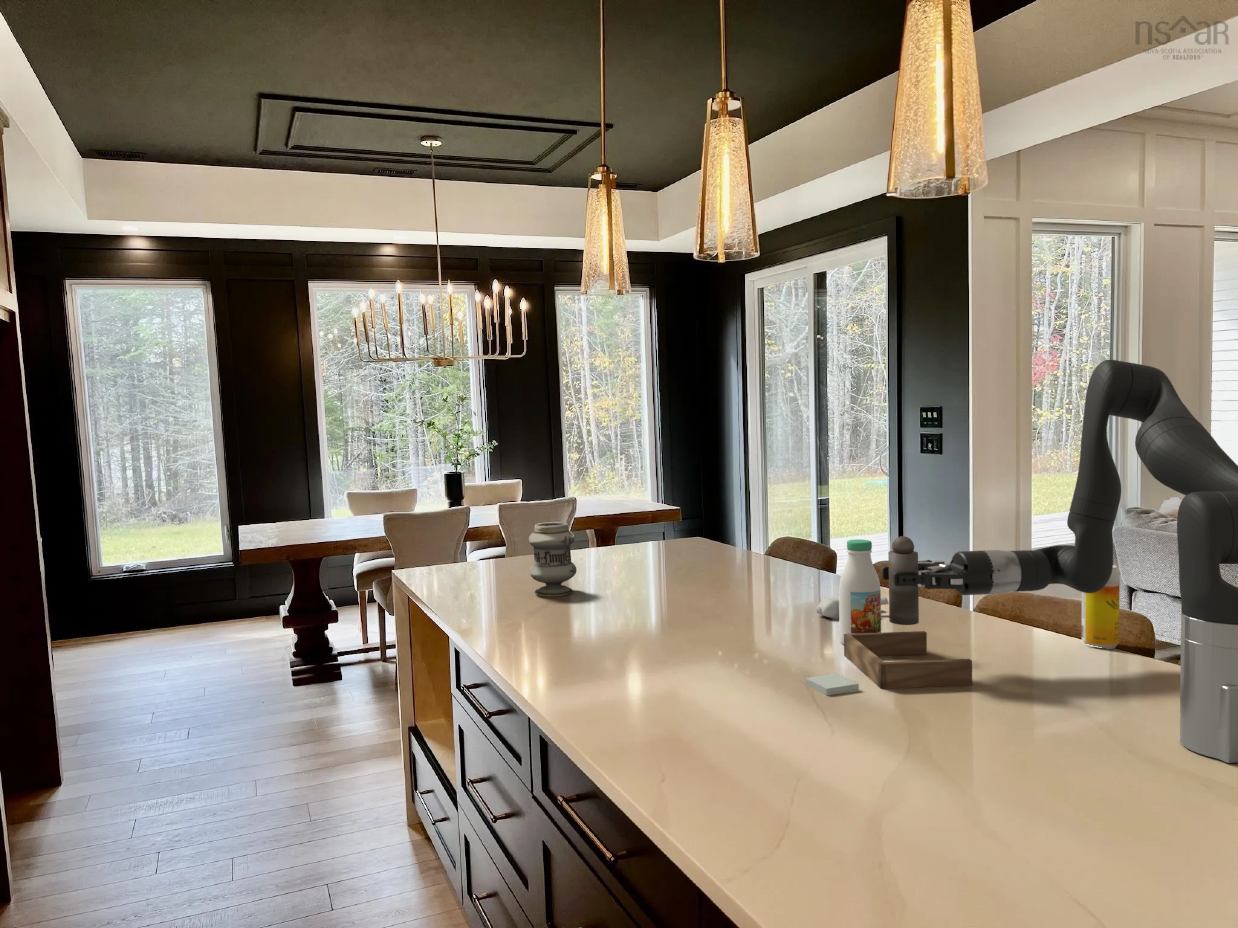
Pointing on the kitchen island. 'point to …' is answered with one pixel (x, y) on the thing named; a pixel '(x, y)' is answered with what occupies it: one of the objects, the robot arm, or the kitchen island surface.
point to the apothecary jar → (552, 558)
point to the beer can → (1102, 614)
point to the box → (903, 673)
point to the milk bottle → (859, 592)
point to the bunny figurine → (835, 607)
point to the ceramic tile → (832, 684)
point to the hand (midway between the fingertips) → (888, 576)
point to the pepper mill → (903, 597)
